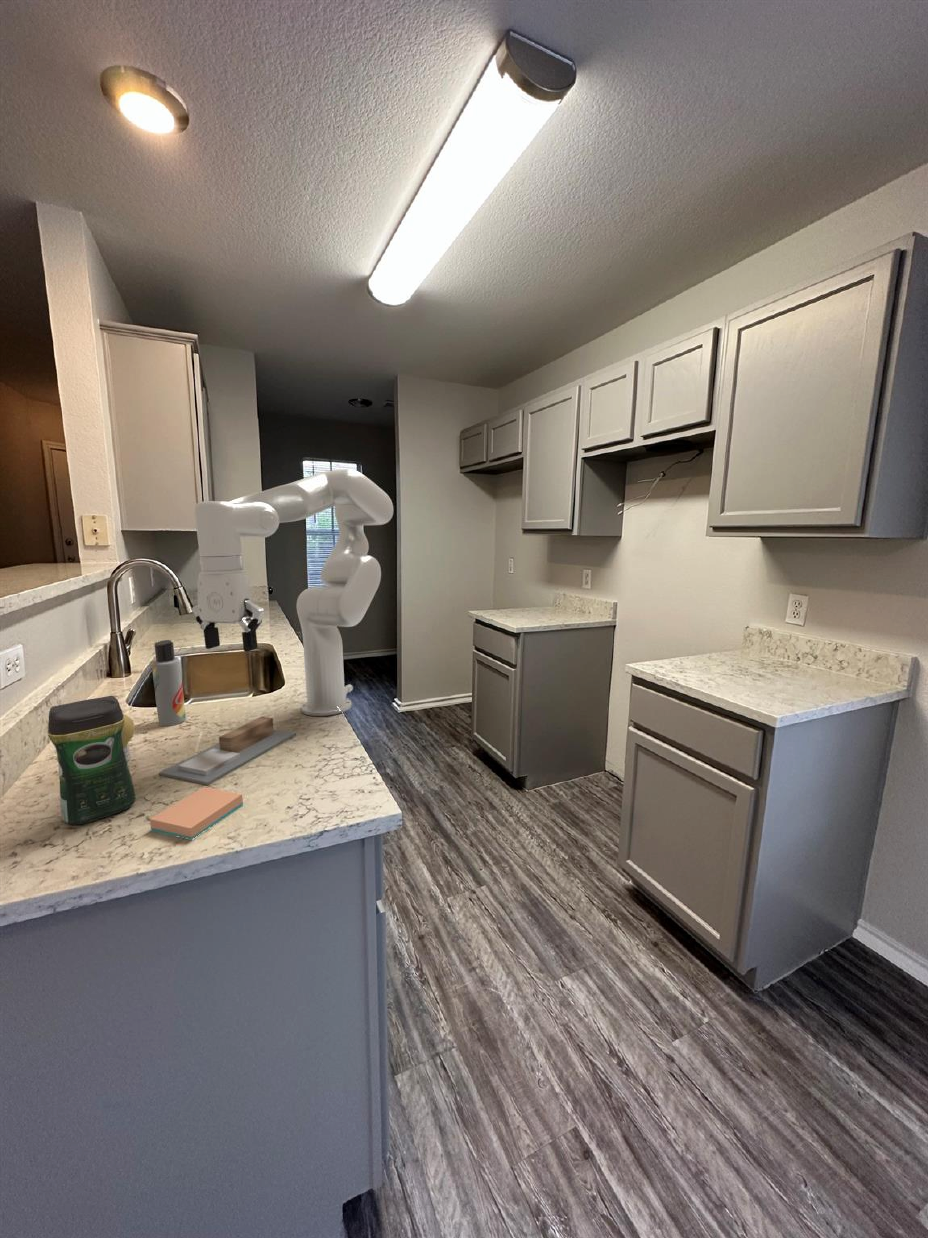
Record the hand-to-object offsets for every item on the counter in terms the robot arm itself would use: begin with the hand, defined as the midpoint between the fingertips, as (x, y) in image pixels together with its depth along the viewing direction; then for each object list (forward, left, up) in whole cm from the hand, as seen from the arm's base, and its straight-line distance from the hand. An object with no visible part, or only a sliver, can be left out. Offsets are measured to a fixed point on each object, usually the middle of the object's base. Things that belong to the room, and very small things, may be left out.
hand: (231, 648), depth 99 cm
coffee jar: (+27, -3, -22) cm, 35 cm away
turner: (+3, +1, -21) cm, 21 cm away
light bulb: (+14, -17, -22) cm, 31 cm away
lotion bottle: (-6, -27, -22) cm, 35 cm away
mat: (+3, +1, -21) cm, 22 cm away
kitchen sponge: (+18, +14, -21) cm, 31 cm away
